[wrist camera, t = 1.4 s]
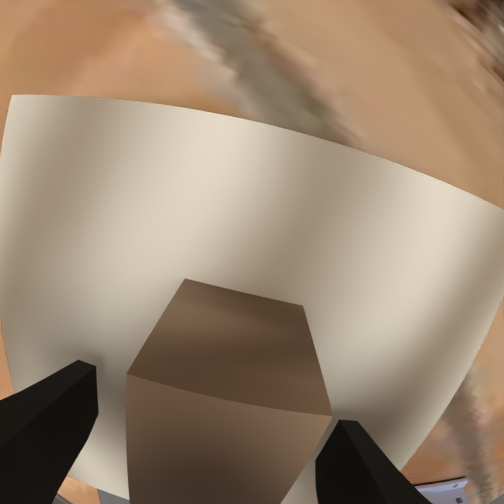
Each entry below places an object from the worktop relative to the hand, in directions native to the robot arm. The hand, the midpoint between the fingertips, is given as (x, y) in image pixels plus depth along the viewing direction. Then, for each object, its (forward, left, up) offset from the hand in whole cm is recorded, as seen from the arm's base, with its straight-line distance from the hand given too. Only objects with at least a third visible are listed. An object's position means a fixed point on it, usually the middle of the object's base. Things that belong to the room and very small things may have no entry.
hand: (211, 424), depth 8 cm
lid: (0, 0, -2) cm, 2 cm away
